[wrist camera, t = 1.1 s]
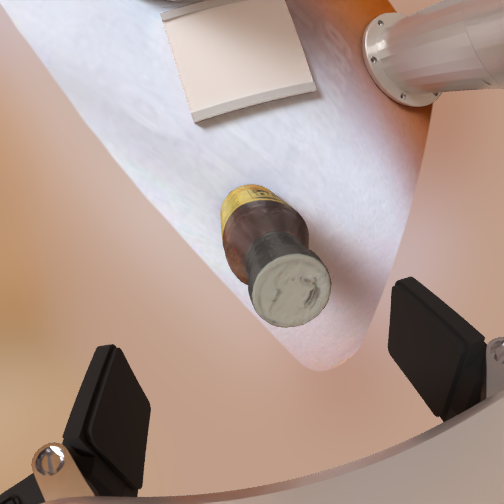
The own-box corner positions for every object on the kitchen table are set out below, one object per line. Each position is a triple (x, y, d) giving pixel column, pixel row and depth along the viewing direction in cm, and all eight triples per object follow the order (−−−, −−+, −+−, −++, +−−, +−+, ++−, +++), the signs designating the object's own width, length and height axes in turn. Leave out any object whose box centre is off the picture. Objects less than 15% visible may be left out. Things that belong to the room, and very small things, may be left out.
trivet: (278, -9, 25) (280, -13, 24) (313, 91, 30) (316, 90, 29) (161, 17, 25) (160, 13, 24) (194, 123, 29) (193, 122, 28)
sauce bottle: (288, 212, 34) (380, 297, 16) (246, 250, 35) (291, 370, 16) (249, 167, 32) (311, 206, 13) (204, 207, 33) (205, 298, 14)
